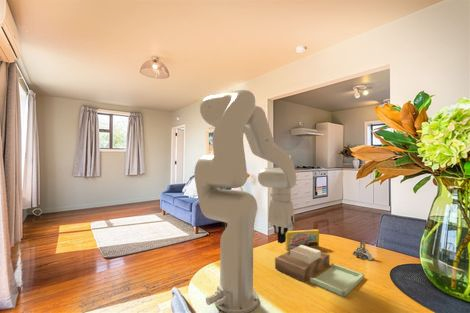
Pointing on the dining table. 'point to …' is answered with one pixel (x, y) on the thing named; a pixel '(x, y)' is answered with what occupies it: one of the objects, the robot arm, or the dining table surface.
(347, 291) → the tray
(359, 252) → the house of cards
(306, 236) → the candy box
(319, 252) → the tile
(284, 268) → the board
